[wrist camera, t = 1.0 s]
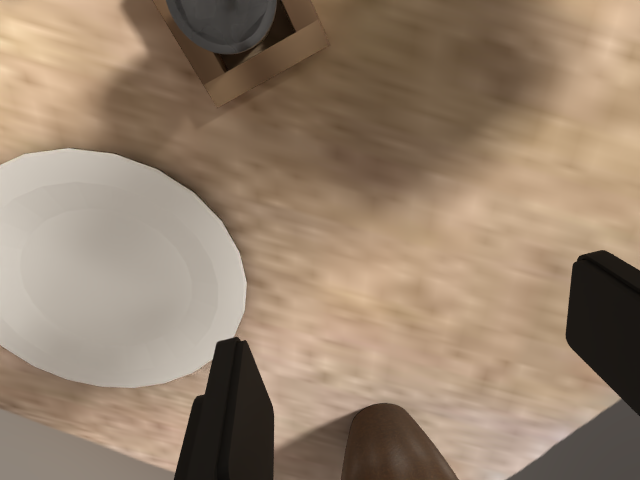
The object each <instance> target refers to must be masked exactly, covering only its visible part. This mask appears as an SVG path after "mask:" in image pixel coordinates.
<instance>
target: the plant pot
mask: <svg viewBox="0 0 640 480" xmlns="http://www.w3.org/2000/svg"><path fill="white" fill-rule="evenodd" d="M341 480H459V479H458V478H457V476H456V475H455V473H454V472H453V470H452V469H451V467H450V466H449V465H448V463H447V462H446V460H445V459H444V457H443V456H442V455H441V453H440V452H439V450H438V449H437V448H436V446H435V445H434V444H433V442H432V441H431V440H430V439H429V437H428V436H427V435H426V434H425V432H424V431H423V430H422V429H421V428H420V426H419V425H418V424H417V423H416V422H415V420H414V419H413V418H412V417H411V416H410V415H409V414H408V413H407V412H406V410H404V409H403V408H402V407H400V406H398V405H394V404H387V403H384V404H376V405H372V406H370V407H367V408H365V409H363V410H362V411H361V412H359V413H358V414H357V415H356V416H355V418H354V419H353V421H352V424H351V428H350V432H349V437H348V441H347V446H346V451H345V457H344V463H343V469H342V476H341Z"/></svg>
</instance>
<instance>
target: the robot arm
mask: <svg viewBox="0 0 640 480" xmlns="http://www.w3.org/2000/svg"><path fill="white" fill-rule="evenodd" d="M566 340H567V342H568V344H569V346H570V347H571V348H572V349H573V350H574V351H575V352H576V353H577V354H578V355H579V356H580V357H581V358H582V359H583V360H584V361H585V362H586V363H587V364H588V365H589V366H590V367H591V368H592V369H593V370H594V371H595V372H596V373H597V374H598V375H599V376H600V377H601V378H602V379H603V380H604V381H605V382H606V383H607V384H608V385H609V386H610V387H611V388H612V389H613V390H614V391H615V392H616V393H617V394H618V395H619V396H620V397H621V398H622V399H623V400H624V401H625V402H626V403H627V404H628V405H629V406H630V407H631V408H632V409H633V410H634V411H635V412H636V413H637V414H638V415H639V416H640V270H638V269H636V268H635V267H633V266H631V265H630V264H628V263H626V262H624V261H623V260H621V259H619V258H618V257H616V256H614V255H613V254H611V253H609V252H607V251H605V250H600V251H596V252H592V253H588V254H584V255H581V256H579V257H578V259H577V262H575V263H574V264H573V267H572V277H571V287H570V297H569V306H568V316H567V326H566ZM273 464H274V411H273V406H272V403H271V401H270V398H269V396H268V393H267V391H266V388H265V386H264V383H263V381H262V378H261V375H260V373H259V370H258V368H257V365H256V363H255V360H254V358H253V355H252V353H251V350H250V348H249V345H248V343H247V341H246V340H244V341H240V339H239V338H238V337H234V338H230V339H226V340H221V341H218V342H217V343H216V347H215V351H214V356H213V360H212V365H211V369H210V374H209V378H208V383H207V387H206V392H205V394H204V395H200V396H197V397H196V398H195V399H194V402H193V405H192V409H191V413H190V417H189V421H188V425H187V429H186V433H185V437H184V441H183V445H182V449H181V453H180V457H179V461H178V465H177V469H176V473H175V477H174V480H273Z"/></svg>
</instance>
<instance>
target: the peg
mask: <svg viewBox="0 0 640 480" xmlns="http://www.w3.org/2000/svg"><path fill="white" fill-rule="evenodd" d="M166 3H167V6H168V9H169V11H170V14H171V15H172V17H173V19H174V21H175V23H176V24H177V26H178V27H179V28H180V30H181V31H182V32H183V33H184V34H185V35H186V36H187V37H188V38H189V39H190V40H191V41H192V42H194V43H195V44H196V45H198V46H200V47H202V48H203V49H206V50H208V51H211V52H214V53H219V54H237V53H242V52H245V51H247V50H250V49H252V48H253V47H255V46H256V45H258V44H260V43H261V42H262V41H263V40H264V39H265V38H266V37H267V35H268V33H269V31H270V29H271V26H272V24H273V21H274V17H275V13H276V7H277V0H166Z"/></svg>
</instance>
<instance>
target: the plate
mask: <svg viewBox="0 0 640 480" xmlns="http://www.w3.org/2000/svg"><path fill="white" fill-rule="evenodd" d="M246 287H247V280H246V276H245V272H244V268H243V264H242V259H241V255H240V251H239V249H238V248H237V246H236V244H235V242H234V241H233V239H232V237H231V235H230V234H229V232H228V230H227V228H226V227H225V225H224V223H223V221H222V220H221V219H220V218H219V217H218V216H217V215H216V214H215V213H214V212H213V211H212V210H211V209H210V208H209V207H208V206H207V205H206V203H205V202H204V201H203V200H202V199H201V198H200V197H199V196H198V195H197V194H196V193H195V192H193V191H192V190H190V189H189V188H187V187H186V186H184V185H182V184H181V183H179V182H178V181H176V180H175V179H173V178H172V177H170V176H168V175H167V174H165V173H164V172H162V171H161V170H159V169H157V168H154V167H152V166H149V165H146V164H143V163H140V162H138V161H135V160H132V159H129V158H127V157H124V156H121V155H118V154H116V153H108V152H100V151H92V150H83V149H75V148H64V149H57V150H49V151H42V152H34V153H27V154H23V155H21V156H19V157H17V158H14V159H12V160H10V161H8V162H5V163H3V164H1V165H0V345H1V346H2V347H4V348H5V349H7V350H8V351H10V352H11V353H13V354H15V355H16V356H18V357H19V358H21V359H23V360H24V361H26V362H27V363H29V364H31V365H32V366H34V367H37V368H39V369H42V370H44V371H47V372H49V373H52V374H54V375H57V376H59V377H62V378H64V379H67V380H71V381H76V382H80V383H85V384H90V385H95V386H99V387H121V388H137V387H144V386H150V385H157V384H164V383H167V382H170V381H173V380H175V379H178V378H181V377H183V376H186V375H189V374H191V373H194V372H195V371H197V370H198V369H200V368H201V367H203V366H204V365H206V364H207V363H208V362H210V361H211V360H213V356H214V351H215V347H216V343H217V342H218V341H221V340H226V339H230V338H233V337H234V335H235V333H236V331H237V328H238V326H239V323H240V321H241V319H242V316H243V314H244V312H245V300H246Z"/></svg>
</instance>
